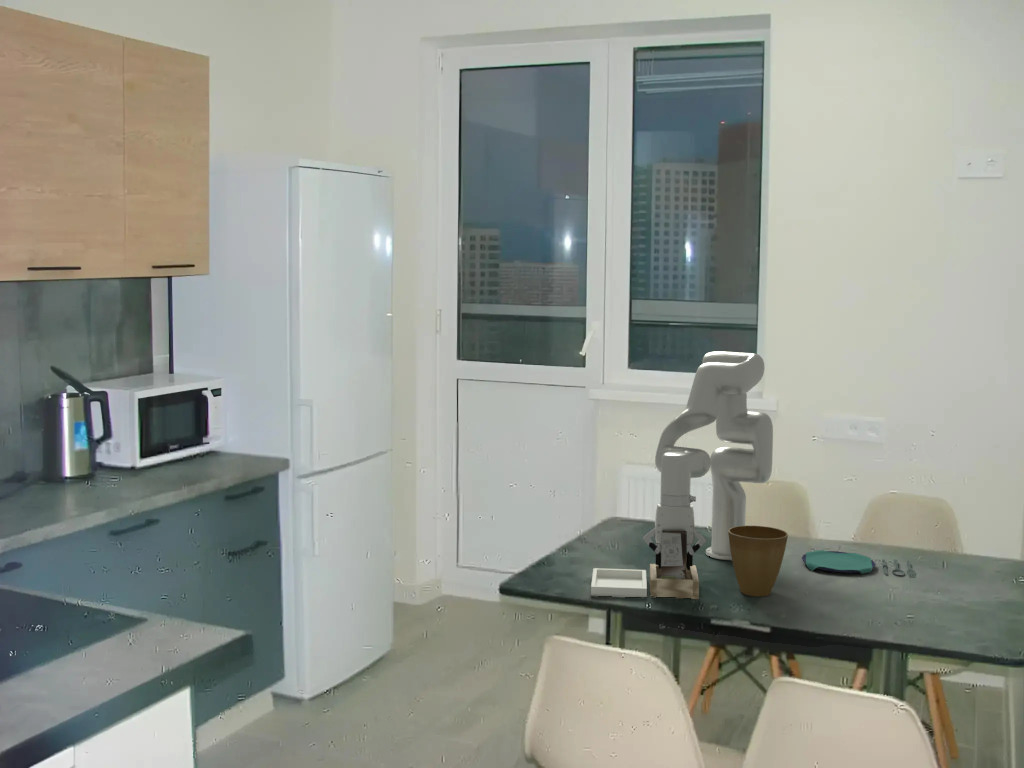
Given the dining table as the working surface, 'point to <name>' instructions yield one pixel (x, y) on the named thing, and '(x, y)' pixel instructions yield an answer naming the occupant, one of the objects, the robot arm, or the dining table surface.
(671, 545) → the coffee box
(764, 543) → the plant pot
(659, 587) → the holder
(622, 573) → the tray
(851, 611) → the dining table surface
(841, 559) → the cutlery set
